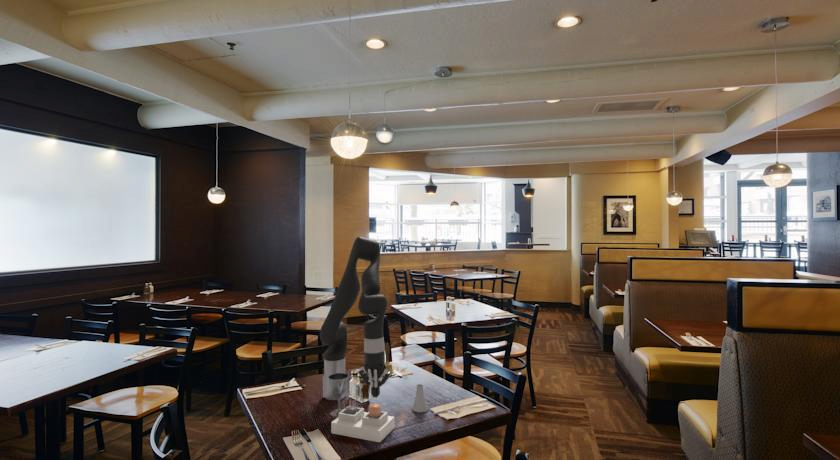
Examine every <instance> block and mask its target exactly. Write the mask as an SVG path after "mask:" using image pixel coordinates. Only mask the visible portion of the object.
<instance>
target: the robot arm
mask: <svg viewBox="0 0 840 460" xmlns="http://www.w3.org/2000/svg"><path fill="white" fill-rule="evenodd" d="M359 259H360V260H363V261H367V262H370V264H369V265H368V266H367V268H365V270H363V272H362V275H361V281H360V278H359V275H358V270H357V264H358V260H359ZM380 259H381V246H380V242H378V240H375V239H371V238H367V237H364V236H357V238H355V240H354V242H353V244H352V247H351V250H350V254H349V257H348V260H347V263H346V267H345V268H344V269H345V270H344V273H343V275H342V278H341V280H340V283H339V285H338V287H337V289H336V293H335V295H334V299H333V300H332V301H333V302H332V304H331V306H330V308H329V311H328V312H327V313H328V314H327V315H326V317H325V319H324V320H323V323H322V325H321V328H320V331H319V338H320V341H321V343H322V344H323V345H326V346H329V347H328V348H327V349H326V350H325V351H324V352H323V353H324V354H323V362H324V363H323V367H324V370H323V371H324V372H323V373H324V375H322V398H324V399H326V400H327V401H337V398H336V396H335V395H334V394H333V393H332V392H331V390H330V387H329V376H330V375H331V374H335V373H346V353H347V350H348V330H347V327H346V324H345V323H344V322H343V319H344V318H345V316H346V315H347V314H348V313H349V312H350V310H351V309H352V308H353V306H354V305H355V303H356V301H357V299H358V297H359V299H358V305H357V307H358V308H357V309H358V311H359V313H360V314H361V315H364V316H365V315H367V316H369V315H377V316H375V318H373V319H370V320H366V321H365V322H364V323H363V324H364V325H363V336H364V337H363V338H364V339H363V356H364V357H363V362H364V365H363V368H361V369H360V370H359V371H358V374H359V375H360V377H361V378H362V380H363V382H364V384H366V385H367V386H370V394H371V397H372V398H378V397H379V395H380V393H381V390H380V389H381V388H380V387H382V386H383V385H385V383H386V382H387V381H388V379H389V378H391V377H390V375H391V374H392V373H391V372H388V371H387V370H386V366H385V362H386V354H385V346H386V345H385V340H384V339H385V338H384V320H385V315H386V312H387V308H388V299H387V297H386V296H385V295H384V294H380V293H381V283H380V274H379V273H380V264H381V263H380V261H381V260H380ZM360 290H361V293H360ZM359 294H360V296H359ZM383 373H384V377H383V376H382V374H383ZM382 377H383V378H382ZM346 392H347V390H346V391H345V393H344V394H343V395H342V397H341V400H343V399H344V398H345V397H346V396H347V393H346Z"/></svg>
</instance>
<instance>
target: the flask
mask: <svg viewBox="0 0 840 460" xmlns="http://www.w3.org/2000/svg"><path fill="white" fill-rule="evenodd" d="M424 386H425V385H424V384H423V383H418V384H416V385H415V388H416V392H415V397H414V400H413V403H412V406H411V411H412V412H415V413H418V414H419V413H427V412H428V411H429V406H428V403H427V400H426V397H425V394H424Z"/></svg>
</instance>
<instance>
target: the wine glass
mask: <svg viewBox="0 0 840 460" xmlns="http://www.w3.org/2000/svg"><path fill="white" fill-rule="evenodd" d="M348 386H349V374H348V373H346V372H345V373H335V374H331V375H330V376H329V387H330V390H331V392H332V393H333V394H334V395H335V396H336V398H337V400H336V401H337V409H334V410H332V411H331V412H330V413H329V414H330V415H331V416H332V417H336V418H338V413H340V412H341V411H342V410H344V409H345V408H341V400H342V399H341V397H342V395H343V394H344V393H345V391H346V392H347V390H348V388H349V387H348Z"/></svg>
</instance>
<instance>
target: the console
mask: <svg viewBox="0 0 840 460" xmlns="http://www.w3.org/2000/svg"><path fill="white" fill-rule="evenodd" d="M350 406H351V405H348V406H346V407H345V408H343V409H344V410H342V411H341V412H340V413H338V417H336V418H335V419H333V420H332V421H331V422H330V423H331V424H330V425H331V426H330V428H331V430H330V432H331V434H332V435H333V434H334V435H340V436H344V437H349V438H354V439H360V440H366V441H369V442H374V443H375V442H376V443H381V442H382V441H383V440H384V439H385V438H386V437H388V435H389V434H390V433H391V432H392V431H393V430H394V429H395V427H396V426H395V424H396V421H395V420H396V419H395V416H393V415H392V416H391V415H389V412H388V411H383V410H381V415H380V416H377V417H371V416H369V411H368V412H367V411H365V408H363V407H358V406H356V407H357V413H356V414H354V415H352V414H346V411H345V409H346V408H347V407H350Z"/></svg>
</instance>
